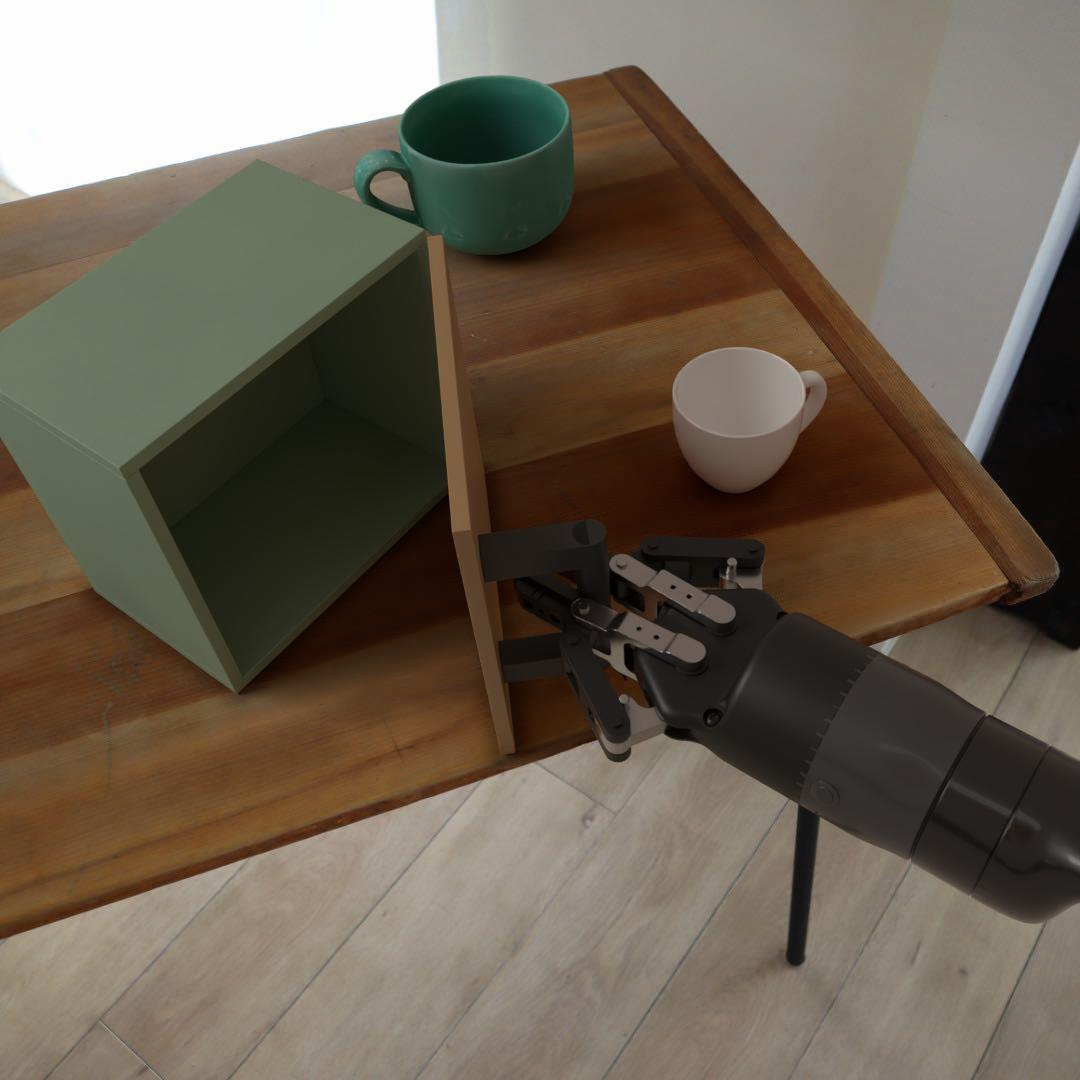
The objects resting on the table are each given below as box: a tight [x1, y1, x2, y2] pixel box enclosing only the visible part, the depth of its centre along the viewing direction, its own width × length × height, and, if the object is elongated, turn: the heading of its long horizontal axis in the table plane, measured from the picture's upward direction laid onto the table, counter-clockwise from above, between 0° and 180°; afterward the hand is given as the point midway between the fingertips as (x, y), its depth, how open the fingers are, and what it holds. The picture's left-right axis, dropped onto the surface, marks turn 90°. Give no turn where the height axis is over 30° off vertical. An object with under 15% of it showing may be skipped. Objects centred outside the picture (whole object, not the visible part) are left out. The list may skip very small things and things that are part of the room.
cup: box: [671, 346, 828, 494], centre depth 72 cm, size 8×10×7 cm
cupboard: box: [0, 158, 449, 695], centre depth 67 cm, size 13×21×19 cm, turn 142°
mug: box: [353, 74, 575, 256], centre depth 89 cm, size 17×13×10 cm
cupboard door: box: [427, 235, 613, 756], centre depth 62 cm, size 7×21×18 cm, turn 6°
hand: (532, 561), depth 58 cm, fingers closed on cupboard door
